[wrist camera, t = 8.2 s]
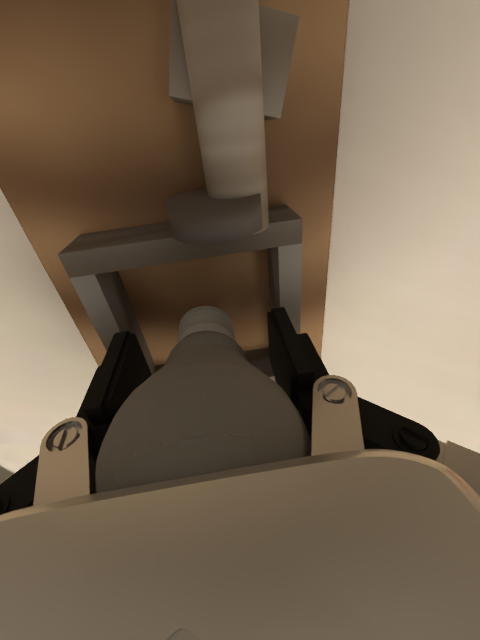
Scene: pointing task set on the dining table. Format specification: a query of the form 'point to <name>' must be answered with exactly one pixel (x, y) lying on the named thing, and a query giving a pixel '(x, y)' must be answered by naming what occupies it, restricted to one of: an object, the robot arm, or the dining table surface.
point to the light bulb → (200, 413)
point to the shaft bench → (175, 160)
